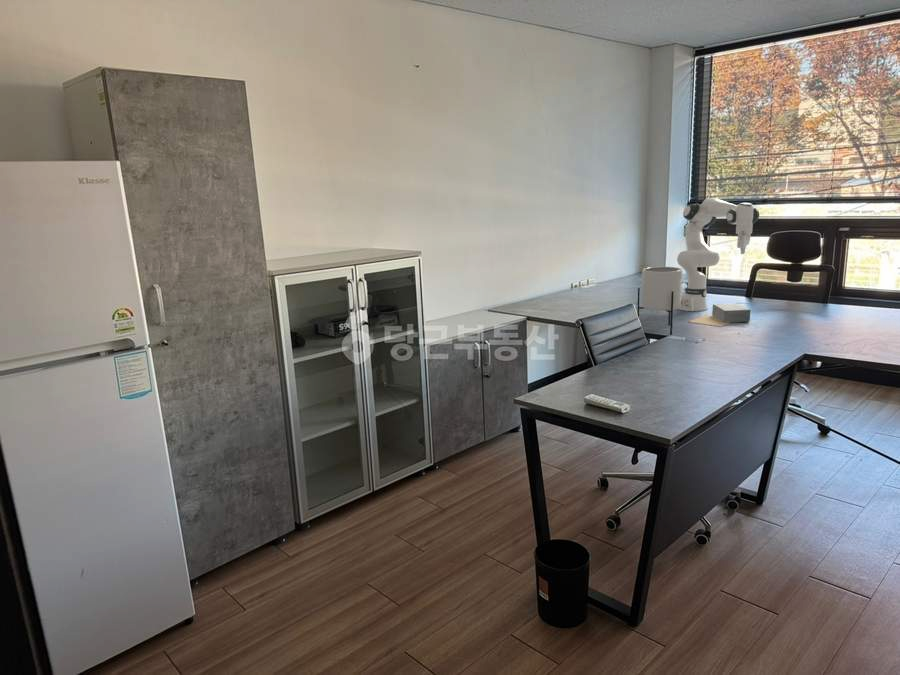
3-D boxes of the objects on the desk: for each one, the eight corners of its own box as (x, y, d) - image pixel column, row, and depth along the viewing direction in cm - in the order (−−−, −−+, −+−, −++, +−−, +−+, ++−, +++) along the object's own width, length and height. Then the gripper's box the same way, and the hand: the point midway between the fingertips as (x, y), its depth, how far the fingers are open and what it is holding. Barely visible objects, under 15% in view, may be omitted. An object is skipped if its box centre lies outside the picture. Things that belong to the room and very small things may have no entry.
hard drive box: (749, 322, 363) (737, 314, 382) (750, 309, 361) (738, 302, 380) (722, 322, 364) (711, 315, 383) (723, 310, 362) (712, 303, 381)
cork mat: (688, 322, 372) (688, 321, 371) (706, 315, 385) (706, 315, 385) (720, 326, 357) (720, 326, 357) (738, 319, 370) (738, 319, 370)
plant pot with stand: (680, 334, 344) (683, 272, 336) (636, 333, 352) (637, 272, 343) (679, 325, 366) (681, 266, 357) (637, 324, 374) (639, 266, 365)
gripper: (747, 232, 354) (745, 256, 357) (752, 229, 370) (751, 251, 374) (735, 232, 357) (733, 255, 361) (741, 229, 374) (739, 251, 377)
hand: (742, 253), depth 367 cm, fingers closed
